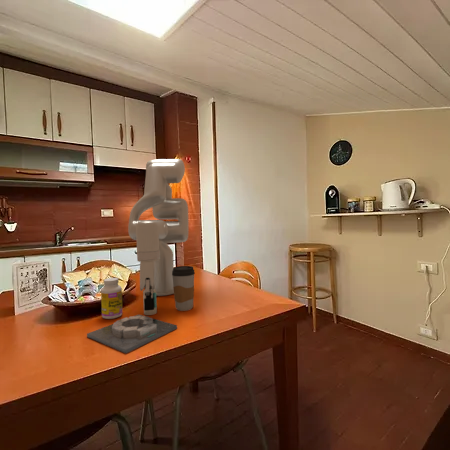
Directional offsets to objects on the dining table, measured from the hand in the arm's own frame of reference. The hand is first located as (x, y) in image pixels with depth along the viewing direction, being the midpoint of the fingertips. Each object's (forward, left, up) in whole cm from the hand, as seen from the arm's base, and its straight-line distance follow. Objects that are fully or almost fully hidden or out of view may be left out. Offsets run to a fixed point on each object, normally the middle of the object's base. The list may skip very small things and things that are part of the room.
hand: (150, 306), depth 99 cm
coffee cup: (+7, +10, -3) cm, 12 cm away
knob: (0, 0, -2) cm, 2 cm away
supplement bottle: (-9, -9, -3) cm, 13 cm away
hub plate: (+9, -14, -2) cm, 17 cm away
